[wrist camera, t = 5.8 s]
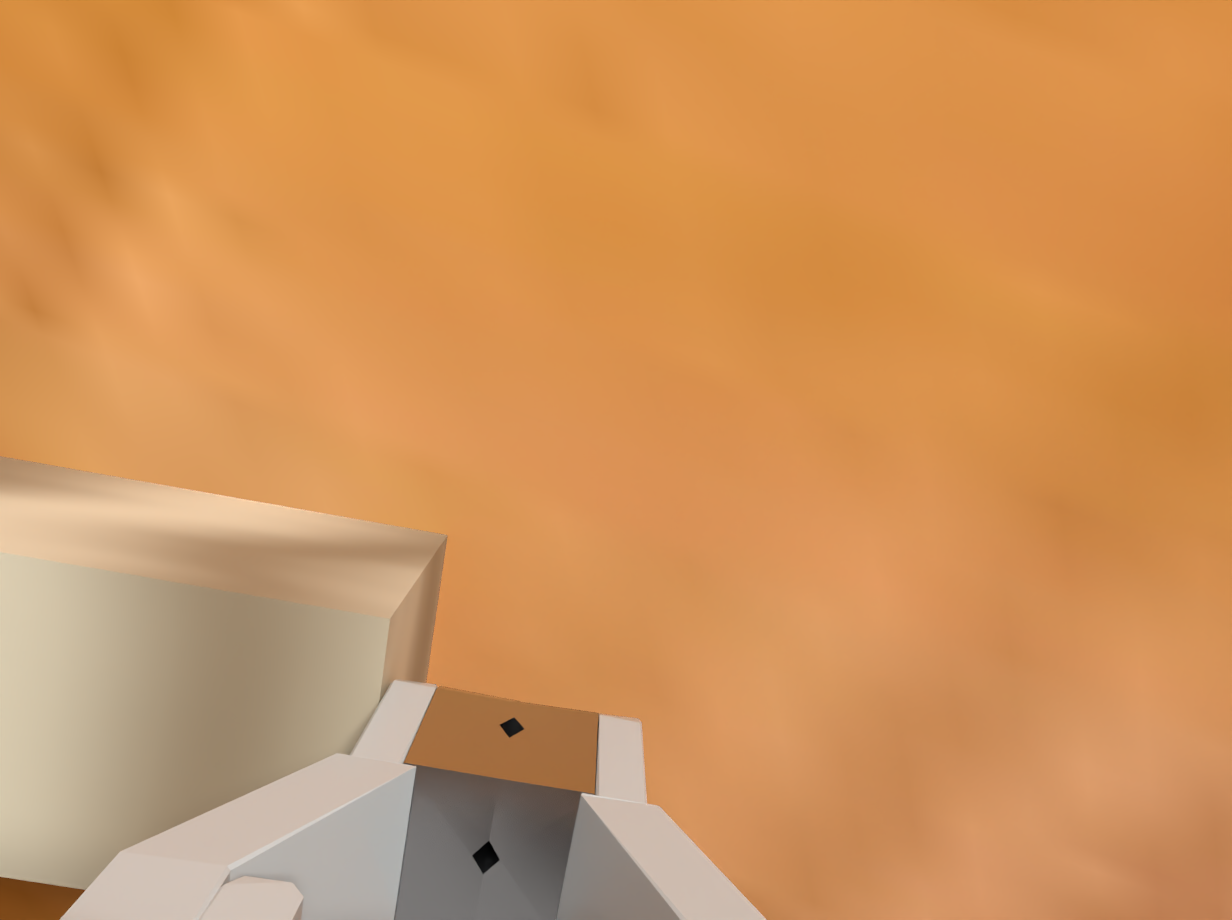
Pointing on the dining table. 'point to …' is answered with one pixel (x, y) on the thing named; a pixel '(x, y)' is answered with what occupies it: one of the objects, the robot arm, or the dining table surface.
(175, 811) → the slat
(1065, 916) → the dining table surface
